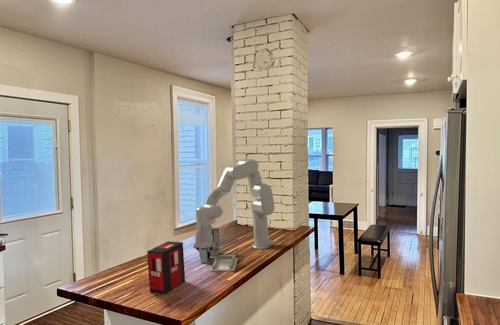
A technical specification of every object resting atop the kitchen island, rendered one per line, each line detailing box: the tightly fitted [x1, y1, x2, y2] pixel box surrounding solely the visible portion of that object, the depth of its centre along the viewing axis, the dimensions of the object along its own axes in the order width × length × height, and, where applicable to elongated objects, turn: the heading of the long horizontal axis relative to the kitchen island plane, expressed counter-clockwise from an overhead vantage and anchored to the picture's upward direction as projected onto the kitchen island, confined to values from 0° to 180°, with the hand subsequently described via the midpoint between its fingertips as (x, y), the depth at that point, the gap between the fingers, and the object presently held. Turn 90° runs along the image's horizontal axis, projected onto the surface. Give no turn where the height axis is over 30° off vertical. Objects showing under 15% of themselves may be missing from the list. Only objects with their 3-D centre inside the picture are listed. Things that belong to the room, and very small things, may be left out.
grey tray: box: [210, 254, 239, 272], centre depth 193 cm, size 13×18×3 cm
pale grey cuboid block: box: [199, 247, 210, 264], centre depth 203 cm, size 4×10×7 cm, turn 176°
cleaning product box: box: [146, 240, 186, 295], centre depth 166 cm, size 16×9×20 cm, turn 159°
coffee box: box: [210, 227, 221, 257], centre depth 214 cm, size 9×6×16 cm
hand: (205, 257), depth 203 cm, fingers closed on pale grey cuboid block, 3 cm apart
